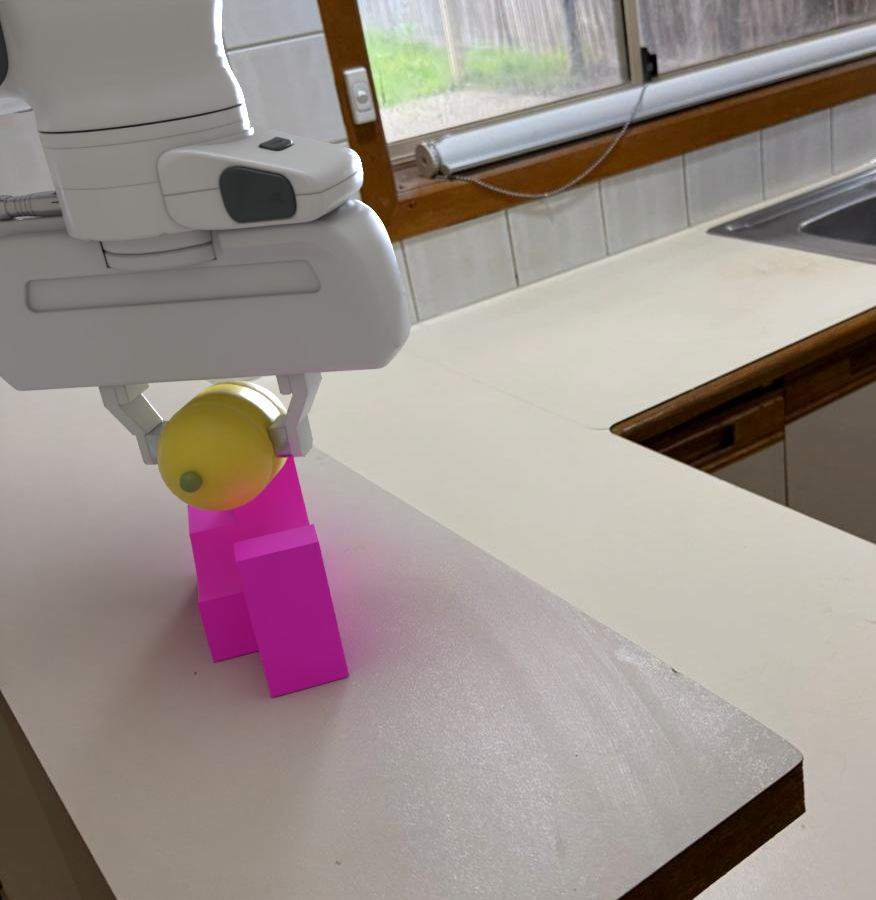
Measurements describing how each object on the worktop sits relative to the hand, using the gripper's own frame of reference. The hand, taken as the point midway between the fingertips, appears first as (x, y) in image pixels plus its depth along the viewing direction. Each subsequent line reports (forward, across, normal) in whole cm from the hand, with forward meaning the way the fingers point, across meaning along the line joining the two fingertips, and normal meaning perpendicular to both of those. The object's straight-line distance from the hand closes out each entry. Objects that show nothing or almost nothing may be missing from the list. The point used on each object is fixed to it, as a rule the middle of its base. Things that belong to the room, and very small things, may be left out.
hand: (231, 456), depth 58 cm
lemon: (+2, 0, 0) cm, 2 cm away
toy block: (+10, 0, 0) cm, 10 cm away
